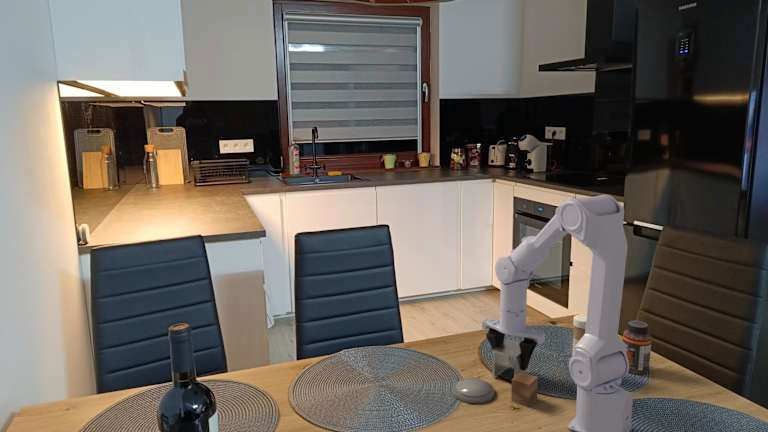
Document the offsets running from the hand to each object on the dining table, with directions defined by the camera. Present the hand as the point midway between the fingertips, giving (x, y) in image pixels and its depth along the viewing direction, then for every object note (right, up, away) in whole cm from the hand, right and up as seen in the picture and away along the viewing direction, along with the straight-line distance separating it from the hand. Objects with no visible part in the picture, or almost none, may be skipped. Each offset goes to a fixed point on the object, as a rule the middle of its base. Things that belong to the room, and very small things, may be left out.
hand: (511, 365), depth 122 cm
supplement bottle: (+29, -2, +2) cm, 29 cm away
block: (0, -5, -10) cm, 11 cm away
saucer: (-10, -4, -7) cm, 13 cm away
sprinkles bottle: (+16, -2, +1) cm, 17 cm away
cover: (0, -2, 0) cm, 2 cm away
